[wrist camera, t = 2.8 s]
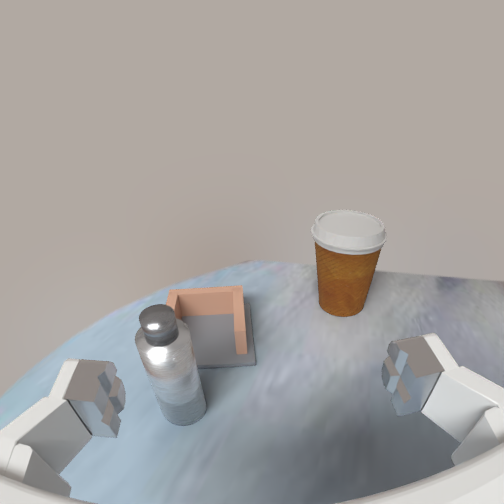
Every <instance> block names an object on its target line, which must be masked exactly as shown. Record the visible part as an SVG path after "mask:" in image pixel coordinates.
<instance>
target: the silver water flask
mask: <svg viewBox="0 0 504 504" xmlns="http://www.w3.org/2000/svg"><path fill="white" fill-rule="evenodd" d="M139 321H140V324H141V328H140V329H139V330H138V331H137V333H136V336H135V343H136V346H137V349H138V351H139V354H140V357H141V360H142V362H143V365H144V368H145V370H146V373H147V376H148V378H149V381H150V383H151V386H152V388H153V391H154V393H155V396H156V398H157V401H158V403H159V405H160V408H161V410H162V412H163V415H164V417H165V418H166V419H167V420H168V421H169V422H171V423H172V424H175V425H180V426H186V425H191V424H194V423H196V422H197V421H199V420H200V419H201V418H202V417H203V416H204V414H205V412H206V401H205V397H204V393H203V389H202V385H201V381H200V377H199V372H198V368H197V364H196V359H195V355H194V350H193V345H192V341H191V336H190V331H189V328H188V326H187V325H186V323H184V322H183V321H181V320H179V319H176V317H175V312H174V310H173V308H172V307H170V306H168V305H163V304H158V305H153V306H150V307H148V308H146V309H144V310H143V311H142V312H141V314H140V316H139Z"/></svg>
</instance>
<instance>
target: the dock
mask: <svg viewBox="0 0 504 504" xmlns="http://www.w3.org/2000/svg"><path fill="white" fill-rule="evenodd" d="M166 305H168V306H170V307H172V308H173V310H174V312H175V317H176V319H179V320H181V321H183V322H184V323H186V325H187V326H188V328H189V331H190V336H191V341H192V345H193V350H194V355H195V359H196V364H197V368H218V367H236V366H251V365H256V363H255V353H254V343H253V334H252V324H251V314H250V304H249V303H248V304H244V302H243V289H242V285H241V286H226V287H210V288H193V289H175V290H170V291H169V295H168V298H167V302H166Z"/></svg>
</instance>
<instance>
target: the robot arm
mask: <svg viewBox="0 0 504 504" xmlns="http://www.w3.org/2000/svg"><path fill="white" fill-rule="evenodd" d="M387 352H388V354H389V357H388V358H387V359H386V360H385V361H384V363H383V366H382V380H383V384H384V386H385V388H386V390H387V391H389V392H390V393H392V394H393V395H392V398H391V402H392V404H393V407H394V409H395V411H396V413H397V416H403V415H407V414H411V413H415V412H419V411H422V413H423V414H424V415H426V416H427V417H428V418H429V419H431V420H432V421H433V422H434V423H436V424H437V425H438V426H440V427H441V428H442V429H443V430H445V431H446V432H447V433H448V434H450V435H451V436H452V437H453V438H455V439H456V440H457V441H459V442H460V443H461V444H460V445H459V446H458V447H457V449H456V450H455V451H454V452H453V454H452V456H451V458H452V461H453V463H454V465H455V466H454V467H452V468H449V469H447V470H445V471H442V472H440V473H437V474H435V475H432V476H429V477H427V478H424V479H421V480H418V481H416V482H413V483H410V484H407V485H404V486H401V487H397V488H394V489H391V490H387V491H384V492H380V493H377V494H373V495H369V496H366V497H362V498H357V499H353V500H349V501H344V502H339V503H334V504H504V388H503V387H501V386H499V385H497V384H495V383H493V382H492V381H490V380H488V379H486V378H484V377H482V376H480V375H478V374H477V373H475V372H473V371H471V370H469V369H467V368H465V367H464V366H461V367H459V366H458V365H457V363H456V362H455V360H454V359H453V357H452V356H451V354H450V353H449V351H448V350H447V349H446V347H445V346H444V344H443V343H442V341H441V340H440V339H439V337H438V336H437V335H436V334H435V333H430V334H426V335H421V336H416V337H411V338H406V339H401V340H396V341H392V342H391V343H390V344H389V346H388V350H387ZM116 372H117V369H116V367H115V365H114V363H113V362H110V361H96V360H83V359H82V360H80V359H69V358H68V359H67V360H66V361H65V362H64V364H63V366H62V368H61V370H60V372H59V374H58V376H57V379H56V381H55V383H54V385H53V388H52V390H51V392H50V394H49V397H43V398H42V399H41V400H40V401H38V402H37V403H36V404H34V405H33V406H32V407H30V408H29V409H28V410H27V411H25V412H24V413H23V414H21V415H20V416H19V417H17V418H16V419H15V420H13V421H12V422H11V423H10V424H8V425H7V426H6V427H4V428H3V429H2V430H1V431H0V504H96V503H92V502H87V501H83V500H78V499H74V498H70V497H69V496H70V491H71V486H70V485H69V483H68V482H67V481H65V480H64V479H63V478H62V477H61V476H60V475H59V474H60V473H61V472H62V471H63V469H64V468H65V467H66V466H67V465H68V464H69V463H70V462H71V461H72V459H73V458H74V457H75V456H76V455H77V454H78V453H79V452H80V451H81V449H82V448H83V447H84V446H85V445H86V444H87V443H88V442H89V441H90V439H91V438H92V436H100V437H110V438H117V435H118V431H119V427H120V423H121V420H120V418H119V416H118V414H119V413H120V412H121V411H122V410H123V409H124V405H125V388H124V385H123V382H122V380H121V379H119V378H118V377H117V376H115V375H116Z"/></svg>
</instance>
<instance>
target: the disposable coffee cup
mask: <svg viewBox="0 0 504 504" xmlns="http://www.w3.org/2000/svg"><path fill="white" fill-rule="evenodd" d="M311 233H312V235H313V239H314V240H315V249H316V262H317V275H318V290H319V304H320V306H321V308H322V309H323V310H324V311H326V312H327V313H329V314H331V315H335V316H341V317H347V316H353V315H355V314H357V313H359V312H360V311H361V310H362V309H363V306H364V303H365V300H366V297H367V293H368V290H369V287H370V284H371V281H372V278H373V274H374V271H375V268H376V265H377V261H378V258H379V254H380V251H381V248H382V247H383V245H384V243H385V242H386V239H387V235H386V232H385V228H384V224H383V222H382V221H381V220H380V219H378V218H377V217H375V216H373V215H370V214H367V213H363V212H359V211H352V210H333V211H328V212H324V213H322V214H320V215H318V216H317V217H316V220H315V223H314V225H313V226H312V228H311Z"/></svg>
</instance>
